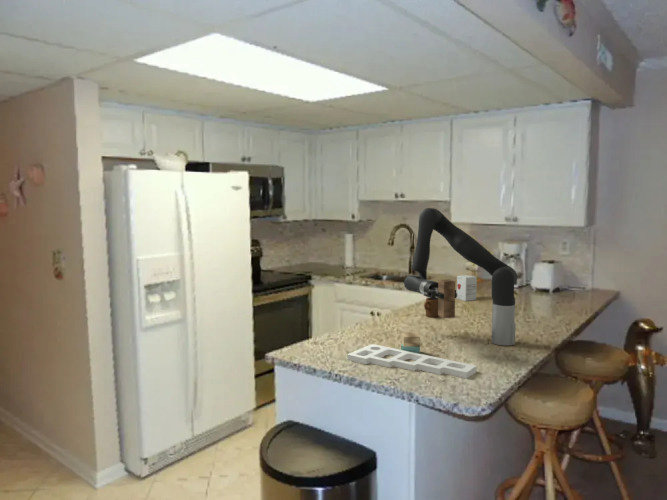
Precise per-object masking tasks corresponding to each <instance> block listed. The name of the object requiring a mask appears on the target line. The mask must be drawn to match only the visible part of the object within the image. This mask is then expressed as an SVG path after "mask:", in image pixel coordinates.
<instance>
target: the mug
mask: <svg viewBox="0 0 667 500" xmlns="http://www.w3.org/2000/svg"><path fill="white" fill-rule="evenodd" d="M423 307H424V310H425V316H426V317H428V318H439V317H440V316H438V299H431V298H429V297H427V298H426V299H425V302H424V304H423Z"/></svg>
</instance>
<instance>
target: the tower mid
mask: <svg viewBox="0 0 667 500" xmlns="http://www.w3.org/2000/svg"><path fill="white" fill-rule="evenodd" d="M402 344H403V346H404V347H420V348H421V335H420V334H419V332H417V331H416V332H415V331H414V332H413V331H412V332H411V331H410V332H407V331H406V332H401V345H402Z"/></svg>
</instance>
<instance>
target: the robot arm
mask: <svg viewBox="0 0 667 500" xmlns="http://www.w3.org/2000/svg"><path fill="white" fill-rule="evenodd" d="M417 230H418V231H417V240H416V246H415V250H414V254H413V259H412V264H411V269H412V270H413V271H414V272H417V273H418V276H417V275H411V274H410V275H407V276H406V277H405V278H404V281H403V286H404V288H405V289H406V290H407V291H410V292H414V293H415V292H416V293H418V294H421V295H423V296H424V297H427V298H431V299H438V298H441V299H444V294H443V293H441V292H439V291H438V281H434V280H431V279H428V278H427V277H428V276H427V273H428V272H427V270H428V265H429V261H430V253H431V238H432V235H433V232H434V231H435V232H437V233H438V234H439V235H441V237H443V238H444V239H445V240H446V241H447V243H448V244H449V245H450V247H451V248H452V249H453V250H454V251H455V252H457V253H458V254H459V255H460V256H462V258H464V259H465V260H467V261H469V262H470V263H472V264H473V265H475V266H478V267H479V268H482V269H483V270H485V271H486V272H487V273H488V274H489V275H490V276H491V298H492V309H491V310H492V316H491V336H490V337H491V343H492V344H495V345H498V346H512V345H513V346H515V345H516V322H515V318H516V317H515V315H516V314H515V313H516V297H515V284H516V283H517V282H518V274H517V271H516V270H515V269H514V268H513V267H511V266H510V265H508V264H506V263H505V262H503V261H502V260H500V259H499V258H497V257H496V256H495V255H493V254H492V252H490V251H489V250H488V249H487V248H485V247H484V245H482V244H481V243H480V242H478V241H477V240H476V239H475V238H474V237H472V236H471V235H469V234H468V233H466V232H465V231H464V230H463V229H461V228H460V227H458V226H456V224H454V223H452V222H451V221H450V220H449V219H448V218H447V217H446V216H445V215H444V214H443V213H442V212H441V211H440V210H439V209H437V208H432V207H426V208H424V209H422V210H421V212H420V213H419V217H418V229H417ZM455 299H457V289H455Z"/></svg>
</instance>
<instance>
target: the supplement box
mask: <svg viewBox="0 0 667 500" xmlns="http://www.w3.org/2000/svg"><path fill="white" fill-rule="evenodd" d="M477 283H478V278H477V276H474V275H470V274H466V275H465V274H464V275H457V276H456V293H457V298H456V300H460V301H463V302H468V301H469V302H470V301H476V300H477Z"/></svg>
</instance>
